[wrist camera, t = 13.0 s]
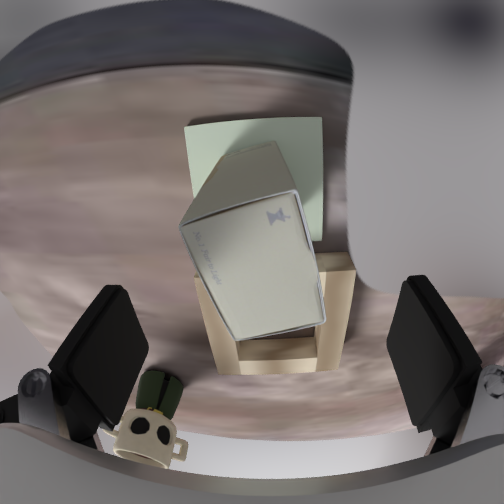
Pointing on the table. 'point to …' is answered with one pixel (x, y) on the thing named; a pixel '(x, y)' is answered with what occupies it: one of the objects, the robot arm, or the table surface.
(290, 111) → the table surface
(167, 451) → the character mug
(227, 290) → the skincare box
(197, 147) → the sage mat
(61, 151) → the table surface
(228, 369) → the holder block
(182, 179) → the table surface
